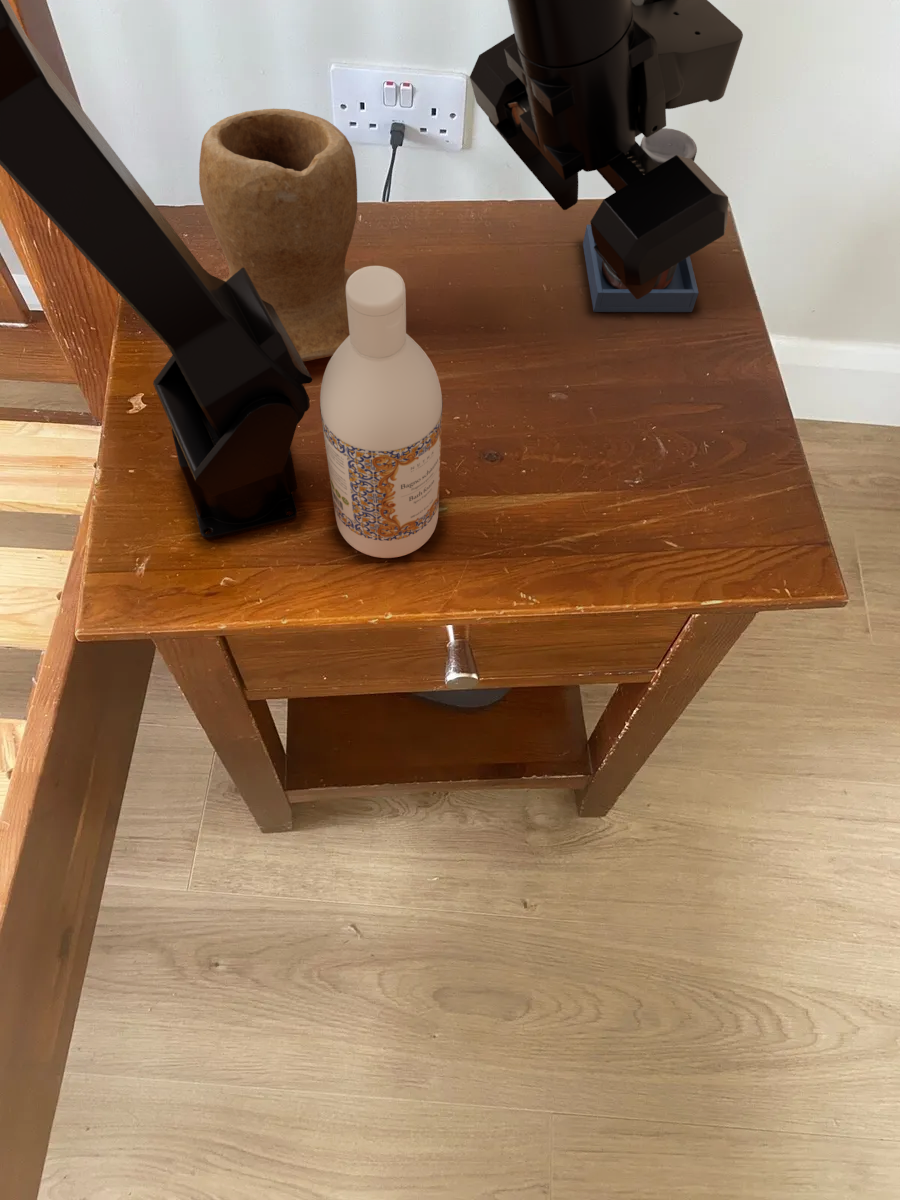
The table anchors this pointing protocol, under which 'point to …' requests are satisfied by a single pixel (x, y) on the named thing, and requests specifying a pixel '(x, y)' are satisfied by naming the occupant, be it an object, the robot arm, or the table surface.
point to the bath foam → (382, 423)
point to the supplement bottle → (660, 150)
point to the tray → (611, 299)
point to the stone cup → (285, 216)
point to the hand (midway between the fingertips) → (605, 248)
